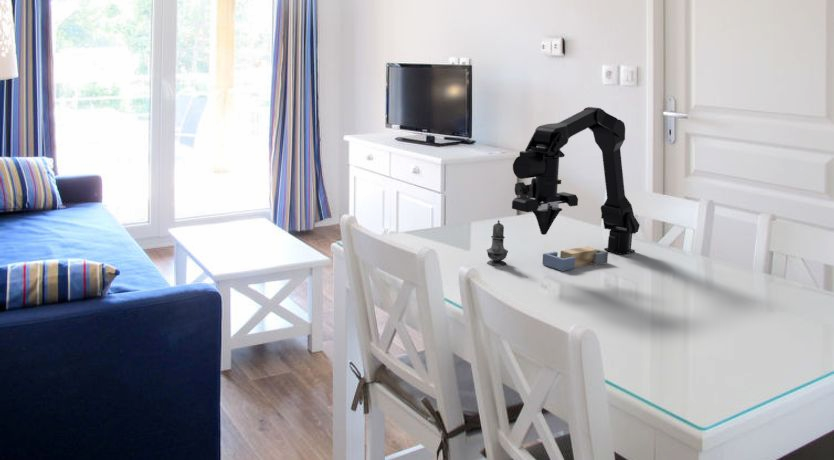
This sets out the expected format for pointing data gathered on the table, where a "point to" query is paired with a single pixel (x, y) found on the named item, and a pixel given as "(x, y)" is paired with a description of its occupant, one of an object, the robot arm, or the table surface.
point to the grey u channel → (600, 257)
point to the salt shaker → (497, 247)
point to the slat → (580, 255)
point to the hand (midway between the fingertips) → (543, 234)
